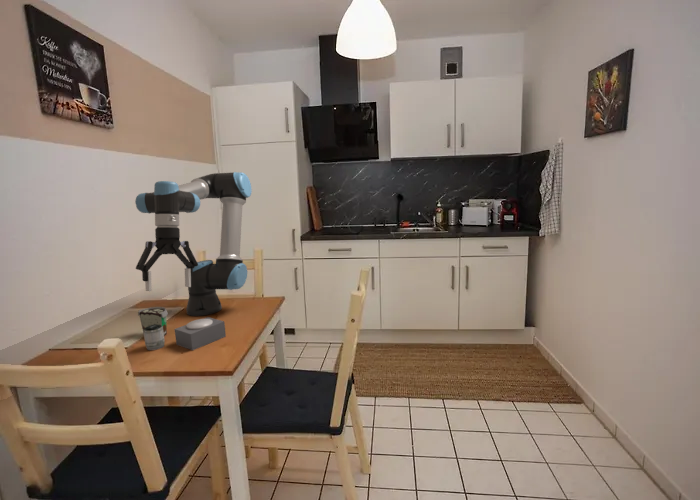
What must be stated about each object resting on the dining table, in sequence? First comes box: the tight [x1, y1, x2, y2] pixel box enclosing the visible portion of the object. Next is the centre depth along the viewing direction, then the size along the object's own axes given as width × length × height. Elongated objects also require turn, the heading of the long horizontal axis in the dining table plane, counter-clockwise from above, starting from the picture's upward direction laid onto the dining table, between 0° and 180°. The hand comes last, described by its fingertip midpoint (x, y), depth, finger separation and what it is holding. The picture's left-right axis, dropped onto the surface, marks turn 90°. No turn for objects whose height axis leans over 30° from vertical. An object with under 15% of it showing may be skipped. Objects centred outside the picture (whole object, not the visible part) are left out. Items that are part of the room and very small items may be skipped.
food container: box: [137, 306, 169, 337], centre depth 149 cm, size 12×6×10 cm, turn 71°
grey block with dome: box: [174, 316, 227, 351], centre depth 140 cm, size 11×14×7 cm
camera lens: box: [142, 324, 166, 351], centre depth 136 cm, size 6×6×8 cm
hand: (169, 288), depth 130 cm, fingers open, 13 cm apart
